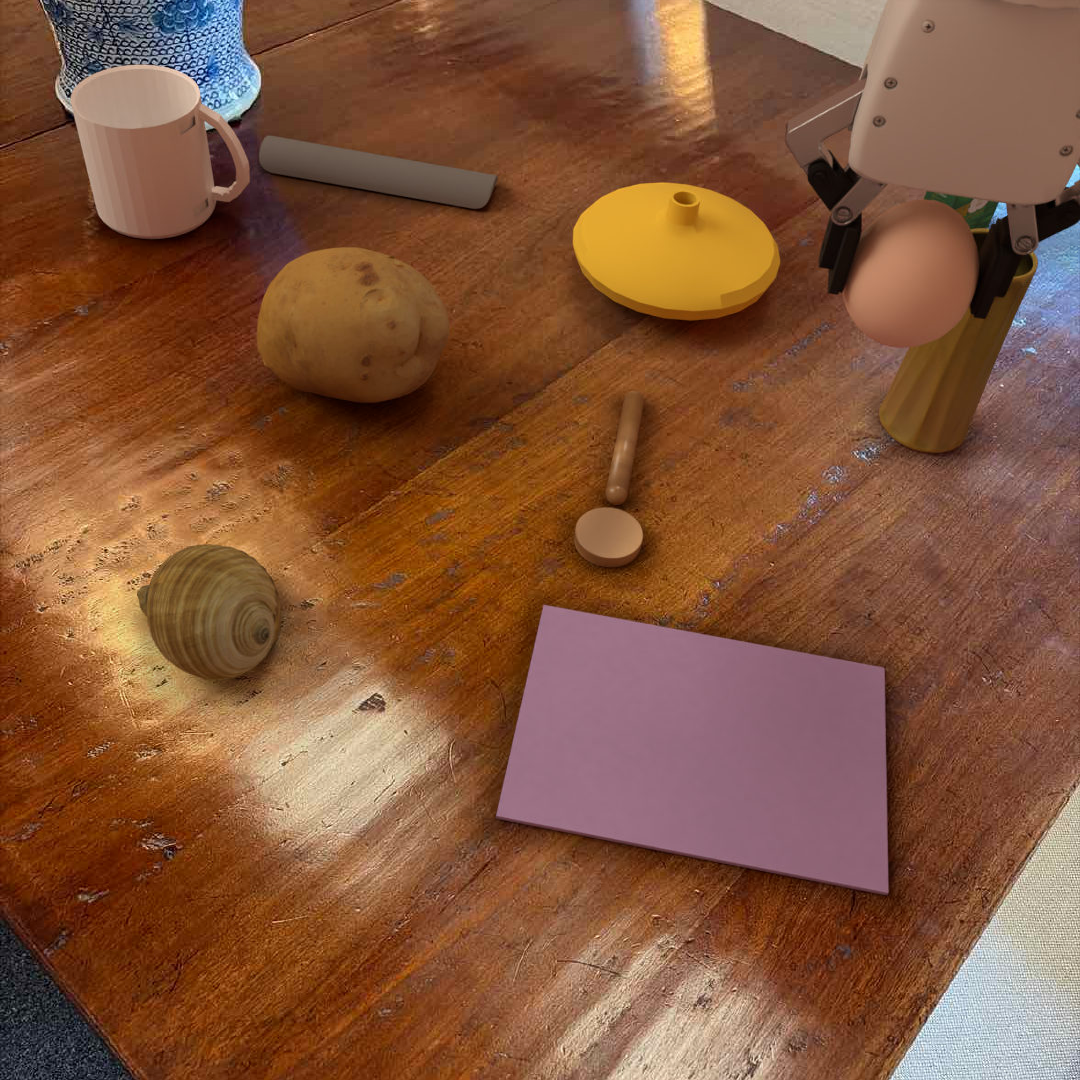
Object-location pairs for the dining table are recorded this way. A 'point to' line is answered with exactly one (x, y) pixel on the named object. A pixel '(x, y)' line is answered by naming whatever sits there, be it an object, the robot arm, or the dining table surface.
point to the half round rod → (376, 172)
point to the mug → (151, 150)
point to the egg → (912, 274)
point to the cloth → (703, 749)
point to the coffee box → (967, 208)
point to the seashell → (212, 611)
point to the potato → (352, 325)
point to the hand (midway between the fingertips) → (905, 288)
